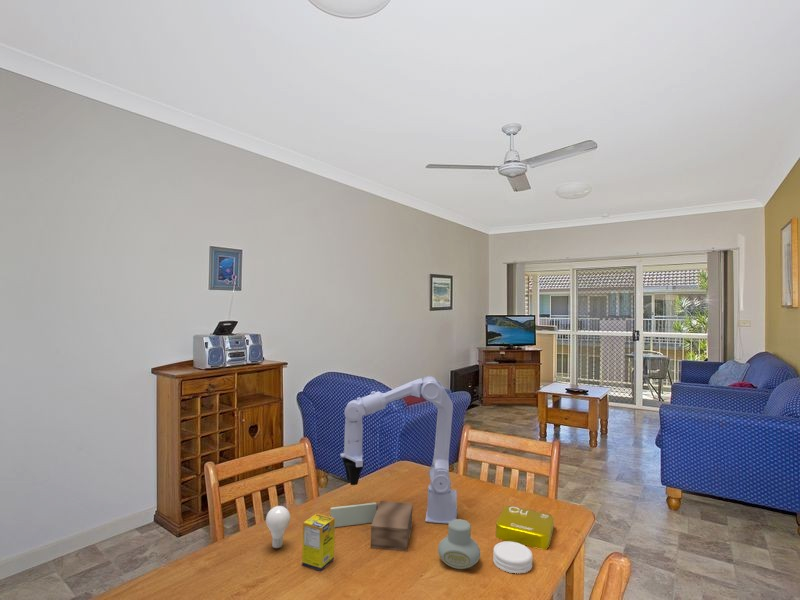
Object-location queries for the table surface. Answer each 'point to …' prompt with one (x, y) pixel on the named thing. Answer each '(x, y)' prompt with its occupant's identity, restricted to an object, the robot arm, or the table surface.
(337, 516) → the cabinet door
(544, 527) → the element tile
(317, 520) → the supplement box
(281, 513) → the lightbulb
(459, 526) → the air freshener
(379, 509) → the walnut cabinet
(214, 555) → the table surface
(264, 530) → the table surface
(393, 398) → the robot arm
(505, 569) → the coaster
